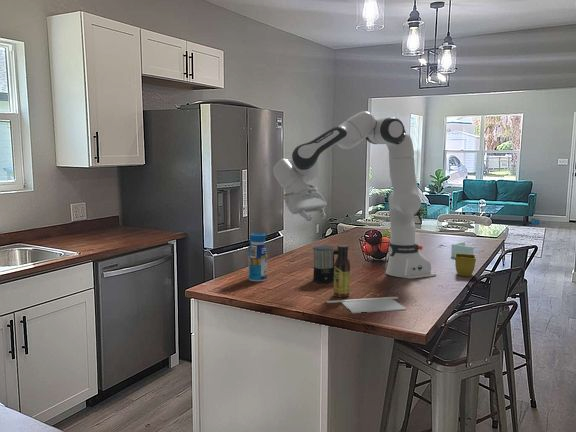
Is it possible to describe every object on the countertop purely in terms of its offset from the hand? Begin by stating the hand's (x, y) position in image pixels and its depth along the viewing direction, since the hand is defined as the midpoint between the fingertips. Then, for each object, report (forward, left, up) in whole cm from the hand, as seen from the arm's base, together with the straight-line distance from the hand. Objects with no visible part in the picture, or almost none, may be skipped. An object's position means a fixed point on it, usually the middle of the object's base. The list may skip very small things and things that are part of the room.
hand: (317, 218), depth 197 cm
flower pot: (-73, -10, -29) cm, 79 cm away
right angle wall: (-96, -45, -30) cm, 110 cm away
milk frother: (-8, -17, -29) cm, 35 cm away
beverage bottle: (+21, -21, -29) cm, 41 cm away
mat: (-14, +25, -29) cm, 41 cm away
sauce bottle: (-7, +10, -29) cm, 32 cm away
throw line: (-13, +17, -29) cm, 36 cm away
